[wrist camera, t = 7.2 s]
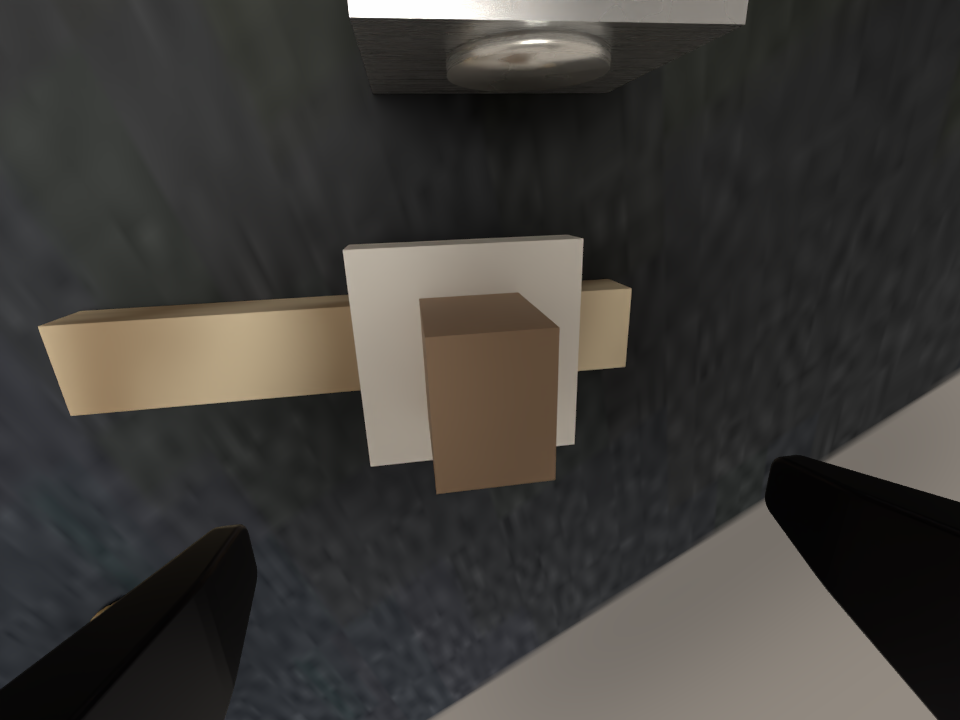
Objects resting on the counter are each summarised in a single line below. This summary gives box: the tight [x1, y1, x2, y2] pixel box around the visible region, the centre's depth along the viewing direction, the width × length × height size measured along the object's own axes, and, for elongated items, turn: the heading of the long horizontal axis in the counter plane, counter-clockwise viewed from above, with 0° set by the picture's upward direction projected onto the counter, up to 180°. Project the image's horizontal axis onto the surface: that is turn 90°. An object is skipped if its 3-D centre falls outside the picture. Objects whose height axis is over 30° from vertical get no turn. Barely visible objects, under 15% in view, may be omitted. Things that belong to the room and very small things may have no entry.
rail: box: [38, 279, 632, 416], centre depth 17 cm, size 19×3×2 cm, turn 92°
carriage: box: [343, 235, 583, 494], centre depth 14 cm, size 7×7×8 cm
